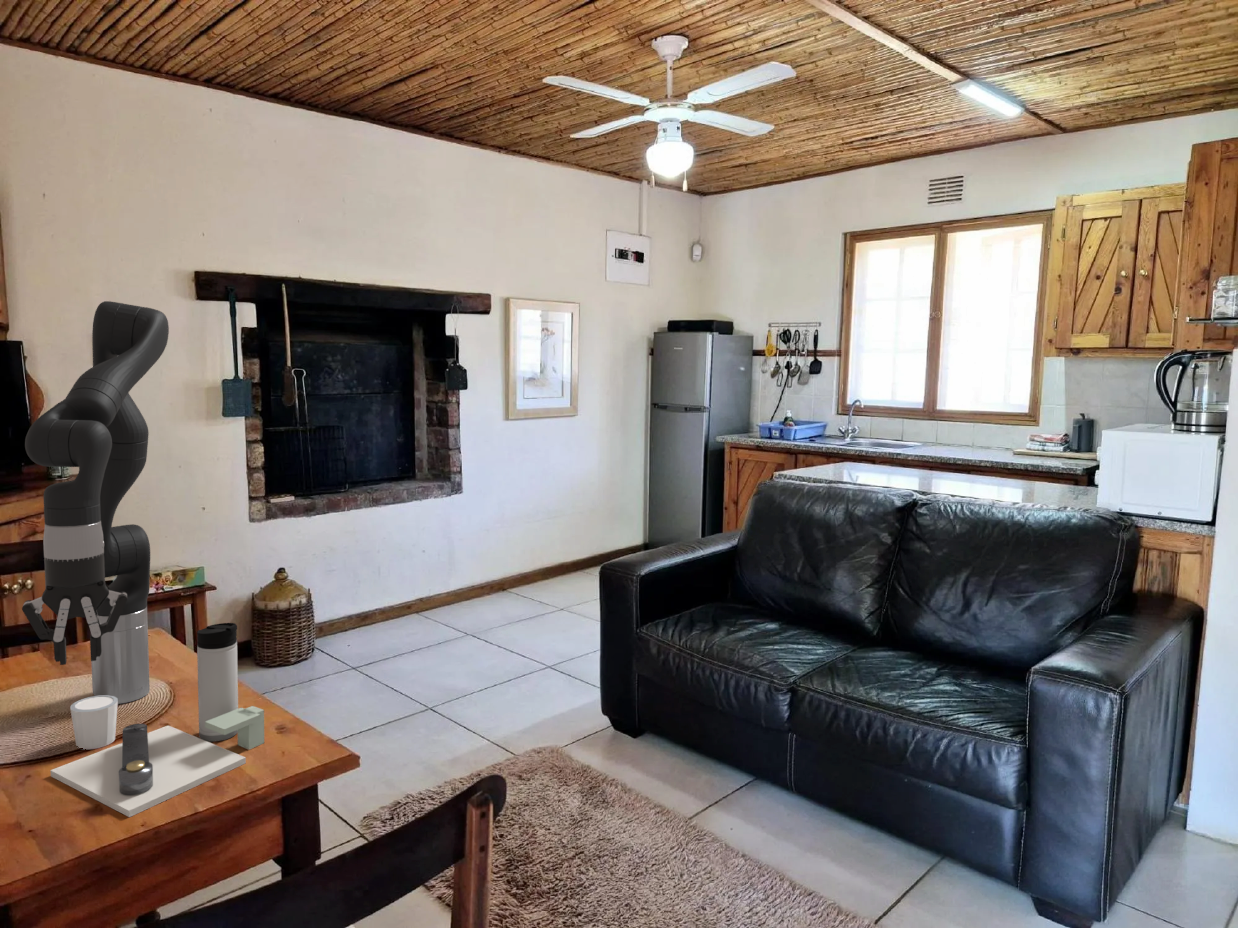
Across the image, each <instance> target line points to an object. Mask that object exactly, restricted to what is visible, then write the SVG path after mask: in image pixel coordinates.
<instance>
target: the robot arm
mask: <svg viewBox="0 0 1238 928" xmlns="http://www.w3.org/2000/svg"><path fill="white" fill-rule="evenodd" d="M169 326H170V325H169V320H168V318H167V316H166V314H165V313H164V312H162V311H160V310H158V309H154V308H151V307H145V306H139V305H134V304H128V303H123V302H117V301H111V300H109V301H107V300H106V301H102V302H99V304H98V306H97V307H96V309H95V312H94V316H93V321H92V332H91V333H92V335H91V336H92V340H91V342H92V344H91V345H92V347H91V348H92V367H90V368H89V369H87V370H86V371H85V372H83V373H82V374H81V375H80V376H79V377H78V378H77V379H76V381H75V383H74V384H73V386H72V387H71V388H70V391H69V392H68V393H67V395H66V397H65V398H64V399H63V400H61V401H59V402H58V403H56V404H55V405H53V406H52V407H51V408H50V409H48V410H47V411H46V412H44V413H43V414H41V415H40V416H39V417H38V418H37V419H36V420H35V421H34V422H33V423H32V424H31V425H30V427H29V429H28V431H27V433H26V436H25V439H24V448H25V452H26V454H27V456H28V457H29V459H30V460H31V461H32V462H34V463H35V464H37V465H38V466H43V467H48V468H49V467H50V468H55V467H56V468H78V473H77V475H76V477H75V479H72V480H68V481H61V482H55V483H53V484H49V485H48V486H46V488H45V489H44V491H43V515H44V516H43V517H44V518H43V519H44V531H43V539H42V540H43V558H44V559H43V561H44V581H45V582H44V585H45V588H44V591H43V592H42V595H41V596H40V597H37V598H34V599H33V600H31V599H29V600H26V601H24V602H23V605H22V607H21V609H22V612H23V614H24V616H25V617H26V619H27V620H28V622H29V624H30V625H31V628H32V629H33V630H34V632H35V634H36V636H37V637H38V638H39V639H40V640H43V641H44V640H49V641H51V642H52V643H53V653H54V654H53V656H54V660H55V662H56V663H58V662H59V666H64V665H67V661H68V660H67V639H66V638H67V637H65V630H66V626H67V621H68V620H72V619H74V618H82V619H83V618H84V619H86V623H87V624H88V627H89V630H90V636H89V647H90V648H89V650H90V662H91V681H92V682H91V684H92V695H93V694H94V695H93V696H99V695H109V696H114V697H116V698H118V705H119V704H126V703H130V702H133V701H137V700H140V699H142V698H144V697H146V696H147V695H148V694H149V693H150V690H151V689H150V659H149V657H150V656H149V631H148V630H149V627H148V624H149V623H148V597H149V594H150V587H151V586H150V585H151V584H150V582H151V581H150V580H151V579H150V577H151V546H150V540H149V537H148V533H147V532H146V531H145V529H144V528H143V527H142V526H140V525H138V524H123V525H117V526H113V522H114V521H113V520H114V516H115V513H116V511H117V509H118V506H119V504H120V502H121V501H122V500H123V498H124V497H125V495H126V494H127V492H128V491H130V489H131V487H132V486H133V484H135V482H136V481H137V479H138V478H139V476H140V475H141V473H142V471H144V468H145V467H146V464H147V457H148V445H149V435H150V434H149V433H150V432H149V427H148V423H147V422H146V419H145V417H144V416H143V413H141V410H140V408H139V407H138V406H137V404H136V402H135V401H134V399H133V398H132V396H131V395H130V391H131V390H132V389H133V388H134V387H135V385H136V384H137V383H139V381H140V380H141V379H142V378H143V377H144V376H145V375H146V374H147V373H148V372H149V370H150V369H151V368H152V367H153V366H154V365H155V364H156V363H157V362H158V361H159V359H160V358H161V356H163V354H164V352H165V349H166V347H167V345H168V340H169V333H170V331H169V329H170V327H169ZM110 577H116V578H115V579H114V580H113V581H112V582H111V583H110V584H109V585H108V584H107V583H106V578H110ZM43 605H46V606H47V608H49V609H50V610H51V612H53V613H54V614H55V615H56V616H57V619H56V623H55V628H53V629H52V628H49V626H48V624H47V623H46V621H45V619H44V618H43V616H42V615H41V613H42V612H43Z"/></svg>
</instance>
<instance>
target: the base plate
mask: <svg viewBox="0 0 1238 928" xmlns="http://www.w3.org/2000/svg"><path fill="white" fill-rule="evenodd" d="M147 734H148V754H149V762H150V763H151V764H152V765H153V786H152V787H151V788H150V789H149V790H147V791H145V792H143V793H140V794H135V795H123V794H121V793H120V792H119V770H120V769H121V768H122V743H123V742H121V743H118V744H115V745H113V746H110V747H108V748H105V749H102V750H100V751H97V752H95V753H92V754H90V755H86V756H84V757H81V758H79V759H76V760H73V761H71V762H69V763H66V764H63V765H60V766H58V767H56V768H53V769H50V777H51V778H53V779H55V780H57V781H59V782H61V783H63V784H65V785H66V786H69V787H71V788H72V789H75V790H76V791H78V792H80V793H82V794H84V795H86V796H88V797H90V798H92V799H93V800H95V801H97V802H99V803H101V804H103V805H105V806H107V807H109V808H111V809H113V810H115V811H117V812H119V813H121V814H123V815H124V816H126V817H128V818H131V817H134V816H135V815H138V814H139V813H142V812H144V811H146V810H148V809H150V808H152V807H155V806H156V805H159V804H160V803H162V802H165V801H167V800H169V799H172V798H174V797H176V796H178V795H180V794H182V793H185V792H186V791H189V790H191V789H194V788H195V787H197V786H200V785H202V784H204V783H207V782H208V781H211V780H213V779H215V778H218V777H219V776H221V775H223V774H226V773H228V772H229V771H232V770H234V769H237V768H238V767H240V766H243V765H245V764H246V762H247V761H246V760H247V759H246V758H247V757H245V756H243V755H241V754H238V753H236V752H233V751H231V750H229V749H226V748H224V747H221V746H219V745H217V744H214V743H212V742H210V741H205V740H202V739H201V738H200V737H197V736H195V735H193V734H190V733H187V732H185V731H183V730H181V729H179V728H175V727H173V726H171V725H166V726H163V727H160V728H158V729H154V730H152V731H149V732H147Z"/></svg>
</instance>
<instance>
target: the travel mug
mask: <svg viewBox="0 0 1238 928" xmlns="http://www.w3.org/2000/svg"><path fill="white" fill-rule="evenodd" d="M237 630H238V625H237V623H235V622H221V623H215V624H211V625H207V626H206V627H205V628H202V629H198V630H197V631H196V634H197V635H196V636H197V644H196V646H197V647H196V648H197V650H196V651H197V653H196V654H197V655H196V656H197V657H196V658H197V659H196V660H197V687H198V688H197V692H198V696H197V697H198V700H197V701H198V702H197V703H198V738H200V739H202V740H205V741H207V742H209V743H212V742H221V741H226V740H229V739H232V738H233V737H234V736H236V735H238V731H237V730H236V731H233V732H231V733H228V734H226V735H223V734H220V733H218V732H215V731H213V730H210V729H208V728H205V722H206V721H208V720H211V719H213V718H216V717H218V716H221V715H223V714H226V713H228V712H231V711H233V710H236V709H238V708H239V687H238V686H239V685H238V683H239V682H238V681H239V679H238V678H239V677H238V637H237V635H238V634H237Z"/></svg>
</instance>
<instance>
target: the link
mask: <svg viewBox="0 0 1238 928" xmlns="http://www.w3.org/2000/svg"><path fill="white" fill-rule="evenodd" d="M147 733H148V725H147V724H145V723H134V724H129V725H127V726H125V727H124V728H123V729H122V742H121V743H122V768H121V769H120V770H119V792H120V793H121V794H123V795H135V794H140V793H143V792H145V791H147V790H149V789H150V788H151V787H152V786H153V765H152V764H151V763H150V762H149V754H148V734H147Z"/></svg>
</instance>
